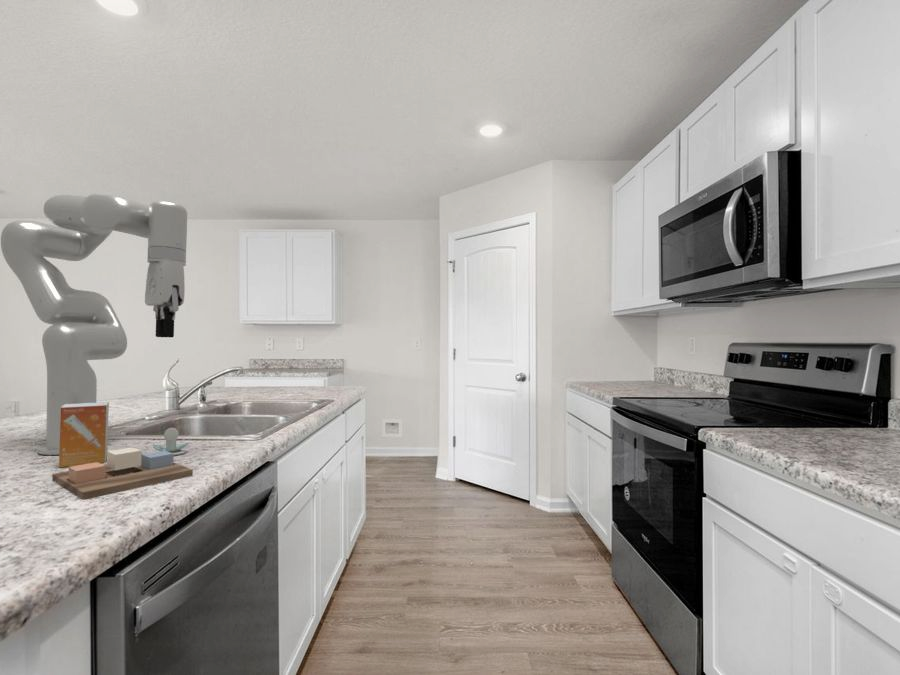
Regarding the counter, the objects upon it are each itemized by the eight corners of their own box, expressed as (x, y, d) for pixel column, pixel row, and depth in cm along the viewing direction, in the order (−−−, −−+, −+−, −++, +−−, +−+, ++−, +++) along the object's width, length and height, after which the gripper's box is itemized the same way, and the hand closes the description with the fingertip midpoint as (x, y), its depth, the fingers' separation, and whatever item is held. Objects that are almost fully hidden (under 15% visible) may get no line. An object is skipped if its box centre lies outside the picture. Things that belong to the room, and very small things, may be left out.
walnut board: (52, 480, 89) (52, 473, 89) (155, 461, 103) (155, 455, 103) (82, 499, 78) (83, 492, 78) (192, 475, 93) (192, 469, 93)
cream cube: (106, 466, 90) (107, 451, 90) (132, 461, 94) (132, 447, 94) (115, 470, 88) (115, 454, 88) (141, 465, 91) (141, 450, 91)
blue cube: (141, 468, 95) (141, 454, 95) (164, 464, 99) (164, 450, 99) (150, 472, 93) (150, 457, 93) (173, 467, 96) (173, 453, 96)
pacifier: (186, 456, 109) (189, 450, 114) (186, 430, 109) (189, 425, 114) (150, 459, 106) (154, 452, 111) (150, 432, 106) (154, 427, 111)
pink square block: (68, 483, 86) (68, 466, 86) (97, 477, 89) (97, 462, 89) (76, 487, 83) (76, 471, 83) (105, 481, 86) (105, 465, 86)
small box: (58, 468, 97) (59, 407, 97) (63, 461, 102) (64, 403, 102) (106, 463, 101) (106, 404, 102) (108, 457, 107) (109, 401, 107)
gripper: (135, 257, 106) (133, 336, 106) (162, 251, 97) (160, 337, 97) (170, 262, 112) (168, 336, 112) (199, 257, 103) (196, 338, 103)
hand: (164, 337), depth 105 cm, fingers closed
